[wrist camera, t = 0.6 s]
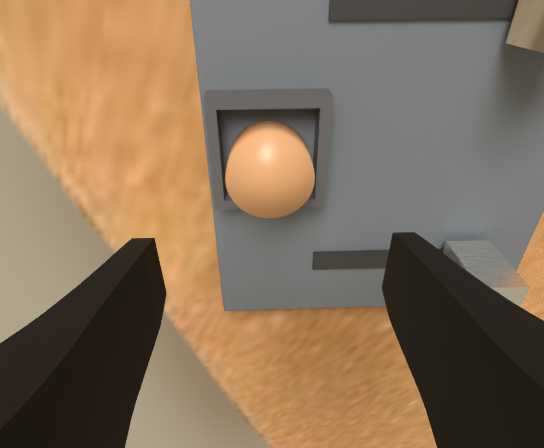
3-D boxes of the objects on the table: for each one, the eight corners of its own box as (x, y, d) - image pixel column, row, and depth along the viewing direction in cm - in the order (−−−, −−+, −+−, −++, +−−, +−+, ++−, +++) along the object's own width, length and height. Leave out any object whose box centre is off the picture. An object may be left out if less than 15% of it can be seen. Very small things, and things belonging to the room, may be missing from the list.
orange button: (311, 119, 16) (317, 136, 14) (307, 195, 18) (312, 217, 16) (225, 121, 16) (221, 138, 14) (231, 196, 18) (228, 219, 16)
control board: (676, -164, 14) (762, -193, 11) (489, 287, 26) (512, 318, 23) (178, -162, 13) (161, -192, 11) (225, 294, 25) (222, 326, 23)
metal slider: (488, 239, 21) (529, 286, 18) (473, 280, 23) (508, 330, 19) (446, 241, 21) (479, 288, 18) (433, 281, 23) (462, 331, 19)
